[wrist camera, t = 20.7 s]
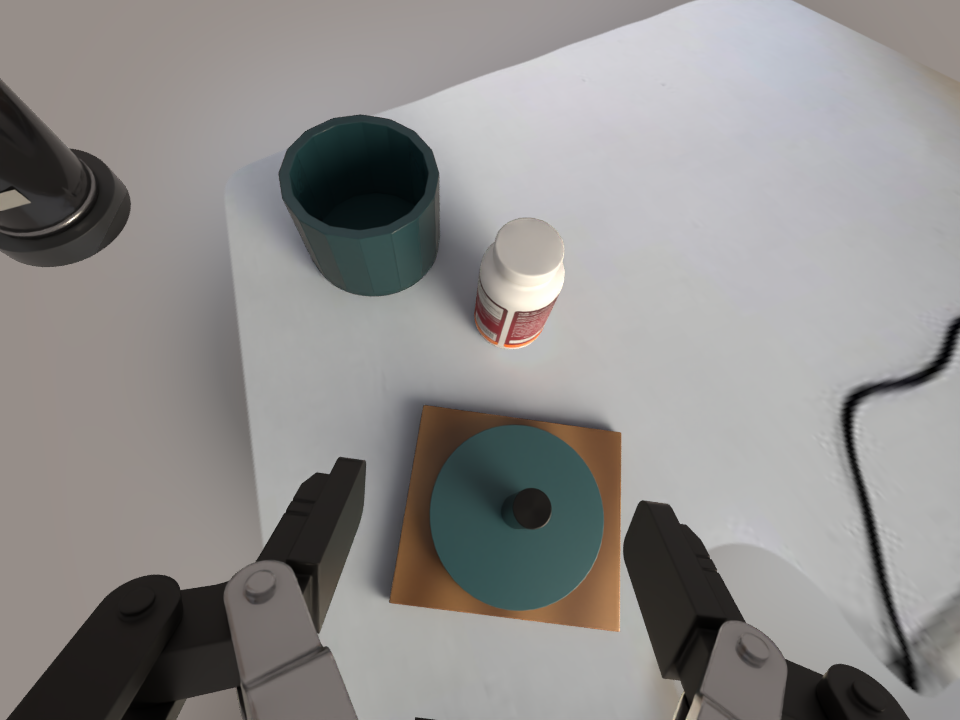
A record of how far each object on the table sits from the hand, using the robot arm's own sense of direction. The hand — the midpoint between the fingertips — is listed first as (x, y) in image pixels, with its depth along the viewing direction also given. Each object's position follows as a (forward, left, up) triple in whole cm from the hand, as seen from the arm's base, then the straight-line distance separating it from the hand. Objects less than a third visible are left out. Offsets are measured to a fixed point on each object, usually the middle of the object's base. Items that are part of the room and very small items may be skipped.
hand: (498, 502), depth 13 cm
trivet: (+4, +1, -22) cm, 22 cm away
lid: (+4, +1, -20) cm, 21 cm away
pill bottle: (+2, +17, -22) cm, 28 cm away
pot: (-11, +23, -22) cm, 34 cm away
